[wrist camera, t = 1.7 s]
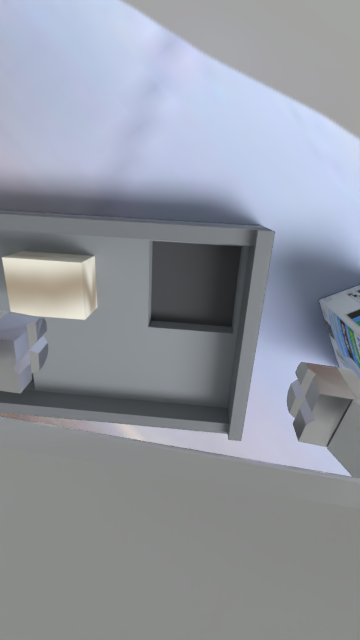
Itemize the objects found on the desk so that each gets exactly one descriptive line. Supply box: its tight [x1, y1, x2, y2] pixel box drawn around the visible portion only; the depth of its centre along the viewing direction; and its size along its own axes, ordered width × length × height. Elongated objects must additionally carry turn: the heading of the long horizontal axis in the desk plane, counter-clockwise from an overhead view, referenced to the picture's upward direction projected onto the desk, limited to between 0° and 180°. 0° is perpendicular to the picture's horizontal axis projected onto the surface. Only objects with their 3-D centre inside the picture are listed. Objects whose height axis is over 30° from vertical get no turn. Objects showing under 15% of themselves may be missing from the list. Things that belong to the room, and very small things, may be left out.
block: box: [2, 251, 97, 320], centre depth 33 cm, size 6×8×4 cm
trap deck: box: [0, 210, 275, 441], centre depth 36 cm, size 24×54×6 cm, turn 87°
